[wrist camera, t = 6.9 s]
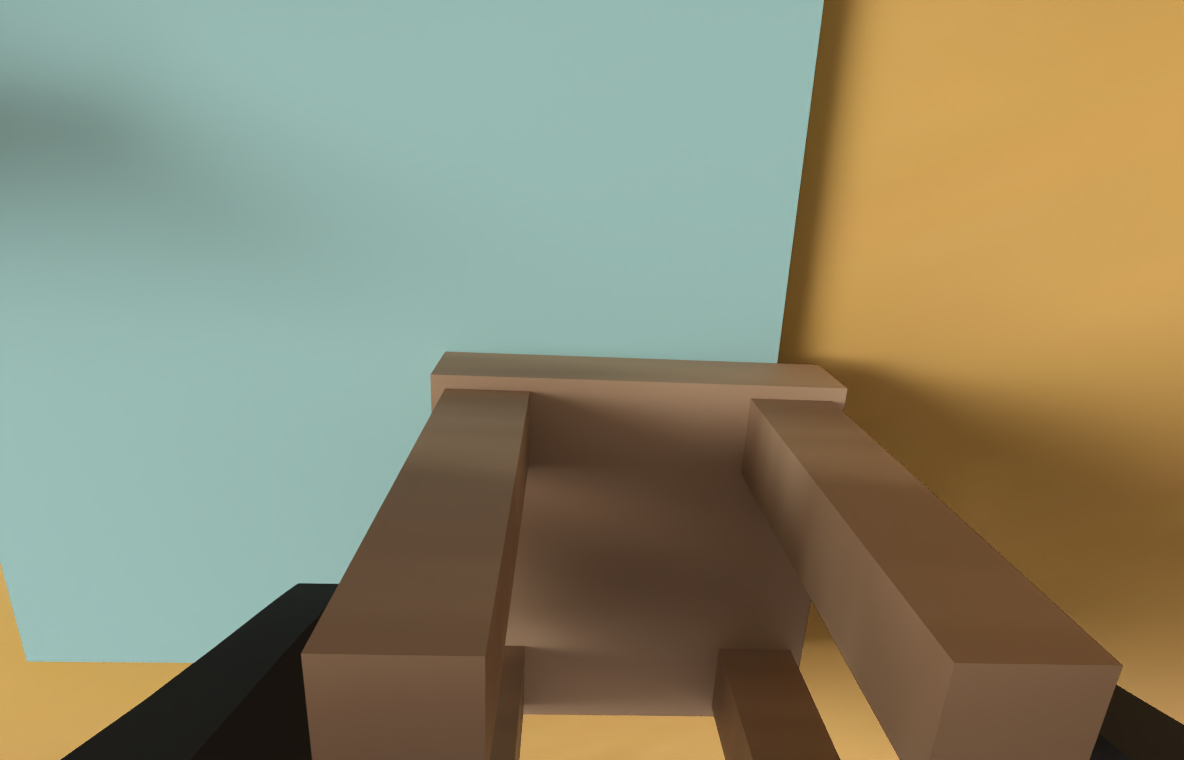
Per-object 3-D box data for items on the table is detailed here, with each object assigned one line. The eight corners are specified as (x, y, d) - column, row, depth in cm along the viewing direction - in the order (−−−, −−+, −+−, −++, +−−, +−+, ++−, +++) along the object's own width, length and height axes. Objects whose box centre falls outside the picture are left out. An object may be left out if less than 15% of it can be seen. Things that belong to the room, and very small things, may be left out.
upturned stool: (770, 666, 13) (967, 1158, 6) (452, 662, 12) (333, 1171, 6) (818, 365, 11) (1158, 642, 5) (445, 351, 11) (267, 628, 4)
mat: (731, 645, 13) (738, 666, 13) (51, 638, 13) (26, 661, 12) (849, -321, 9) (869, -354, 8) (-212, -399, 8) (-271, -441, 7)
